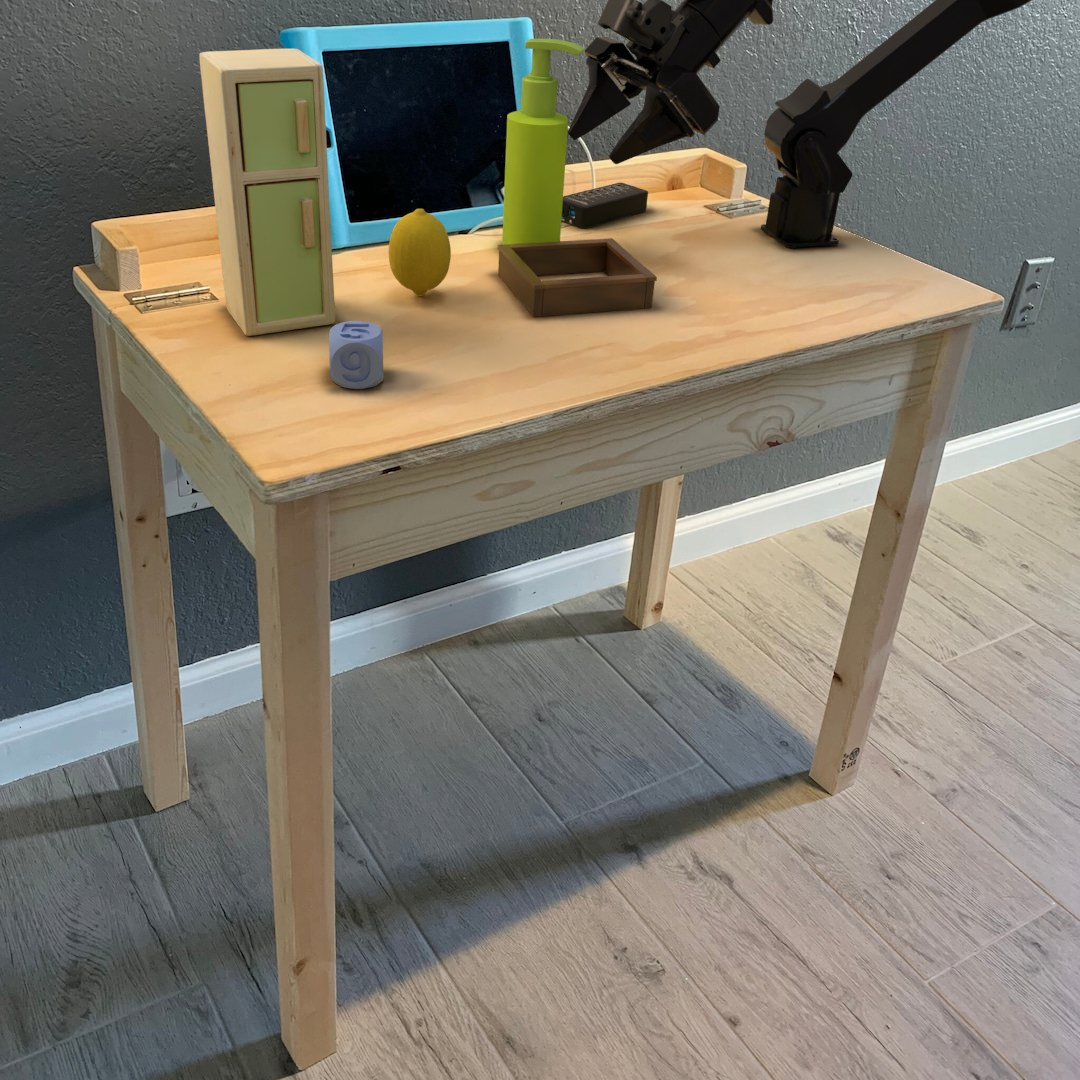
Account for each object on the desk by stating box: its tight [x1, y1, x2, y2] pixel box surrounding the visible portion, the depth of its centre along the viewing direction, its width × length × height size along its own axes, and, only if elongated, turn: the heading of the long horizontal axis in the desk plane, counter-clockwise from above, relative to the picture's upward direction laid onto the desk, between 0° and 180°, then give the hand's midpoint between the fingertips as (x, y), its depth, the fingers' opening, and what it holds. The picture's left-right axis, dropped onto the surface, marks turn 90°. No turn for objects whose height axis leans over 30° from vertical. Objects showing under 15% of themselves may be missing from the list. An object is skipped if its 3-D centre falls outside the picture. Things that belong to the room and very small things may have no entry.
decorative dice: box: [328, 320, 385, 390], centre depth 88 cm, size 4×4×4 cm
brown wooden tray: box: [497, 237, 658, 318], centre depth 106 cm, size 12×11×3 cm
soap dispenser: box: [501, 38, 586, 245], centre depth 111 cm, size 6×7×20 cm
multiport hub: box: [561, 182, 649, 229], centre depth 127 cm, size 4×11×2 cm, turn 136°
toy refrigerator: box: [199, 48, 336, 337], centre depth 92 cm, size 8×7×21 cm
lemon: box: [388, 208, 452, 297], centre depth 102 cm, size 6×6×8 cm
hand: (590, 148), depth 113 cm, fingers open, 9 cm apart
